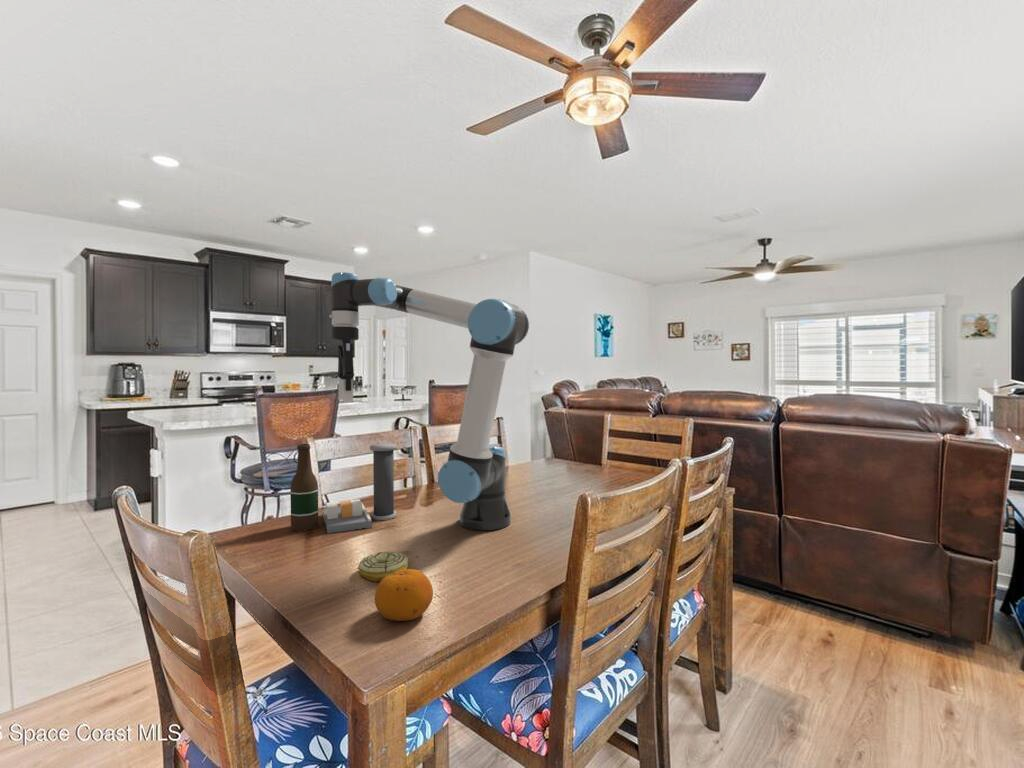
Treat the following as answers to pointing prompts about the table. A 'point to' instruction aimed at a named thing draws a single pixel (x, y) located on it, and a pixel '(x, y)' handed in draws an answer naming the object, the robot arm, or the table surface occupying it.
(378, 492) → the tall grey cylinder
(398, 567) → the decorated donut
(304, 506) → the beer bottle
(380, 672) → the table surface
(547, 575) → the table surface
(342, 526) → the panel
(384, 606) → the fruit
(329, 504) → the paddle left
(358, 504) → the paddle right
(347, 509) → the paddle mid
